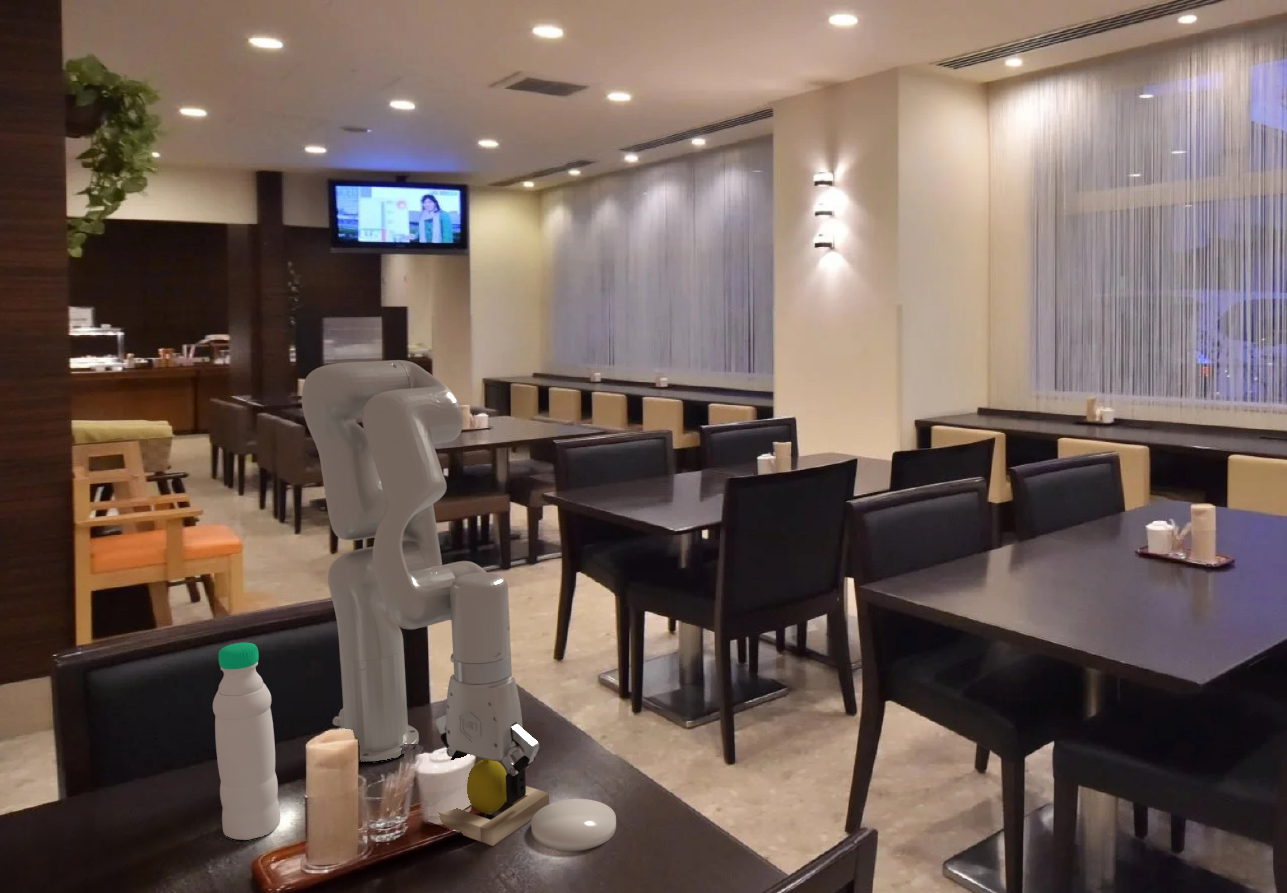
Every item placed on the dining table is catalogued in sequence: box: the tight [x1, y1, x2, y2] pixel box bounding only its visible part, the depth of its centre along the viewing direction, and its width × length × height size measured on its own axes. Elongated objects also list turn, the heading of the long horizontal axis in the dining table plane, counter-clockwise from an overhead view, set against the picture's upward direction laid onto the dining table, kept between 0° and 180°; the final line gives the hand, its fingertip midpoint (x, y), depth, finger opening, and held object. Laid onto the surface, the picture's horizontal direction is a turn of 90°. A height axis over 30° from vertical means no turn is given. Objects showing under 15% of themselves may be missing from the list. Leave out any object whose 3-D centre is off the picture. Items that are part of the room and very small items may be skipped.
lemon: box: [466, 758, 508, 814], centre depth 131 cm, size 6×6×8 cm
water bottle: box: [212, 642, 281, 839], centre depth 127 cm, size 7×7×25 cm
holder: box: [438, 785, 550, 847], centre depth 131 cm, size 12×12×2 cm
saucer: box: [530, 798, 617, 852], centre depth 127 cm, size 11×11×1 cm
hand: (488, 790), depth 131 cm, fingers open, 9 cm apart
